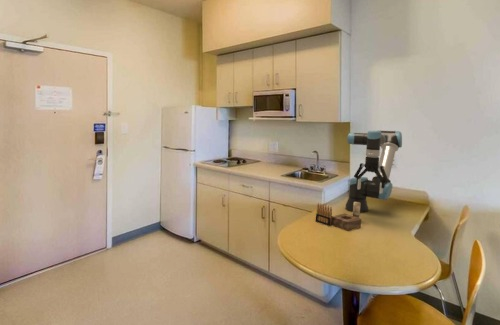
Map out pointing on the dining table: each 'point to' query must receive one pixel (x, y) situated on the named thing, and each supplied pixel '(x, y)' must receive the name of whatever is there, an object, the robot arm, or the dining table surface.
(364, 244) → the dining table surface
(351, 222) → the socket block
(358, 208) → the peg
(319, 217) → the ammunition clip
